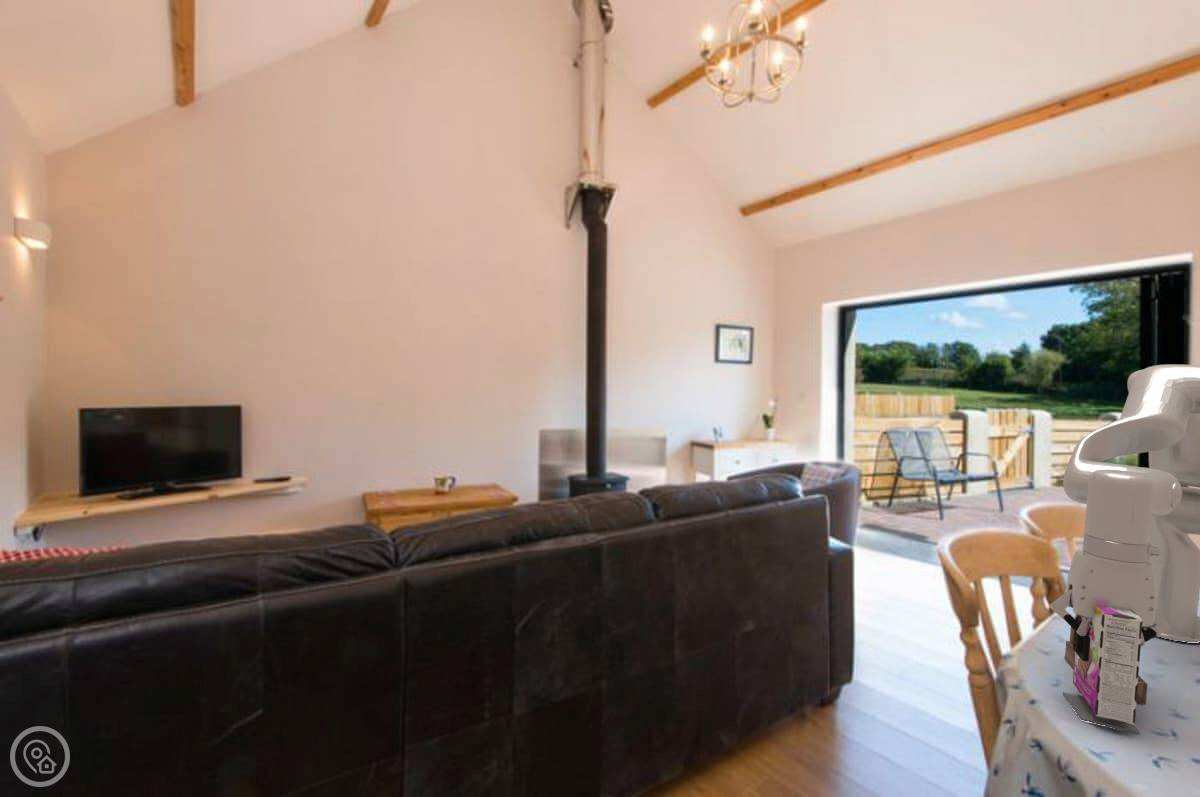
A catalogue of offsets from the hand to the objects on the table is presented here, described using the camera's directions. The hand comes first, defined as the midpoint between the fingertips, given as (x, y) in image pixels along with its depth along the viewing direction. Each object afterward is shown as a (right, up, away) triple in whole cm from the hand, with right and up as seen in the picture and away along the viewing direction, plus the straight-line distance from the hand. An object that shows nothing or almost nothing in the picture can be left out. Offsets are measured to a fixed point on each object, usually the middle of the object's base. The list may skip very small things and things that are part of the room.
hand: (1104, 660), depth 89 cm
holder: (+9, -9, +11) cm, 17 cm away
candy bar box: (0, -7, 0) cm, 7 cm away
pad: (-1, -9, 0) cm, 9 cm away
